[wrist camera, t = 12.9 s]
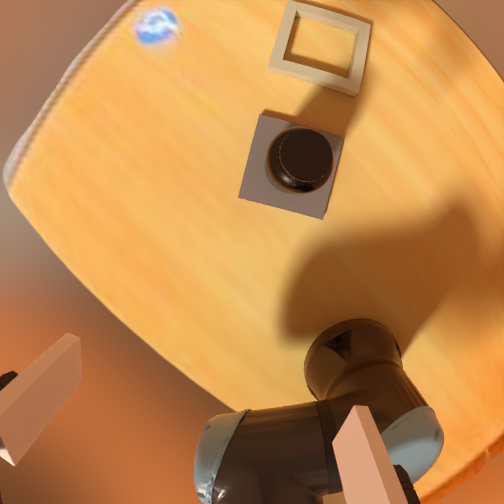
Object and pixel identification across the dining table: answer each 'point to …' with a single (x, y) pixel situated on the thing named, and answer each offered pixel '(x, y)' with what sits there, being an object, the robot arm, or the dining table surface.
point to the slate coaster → (263, 191)
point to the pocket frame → (313, 74)
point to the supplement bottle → (299, 161)
